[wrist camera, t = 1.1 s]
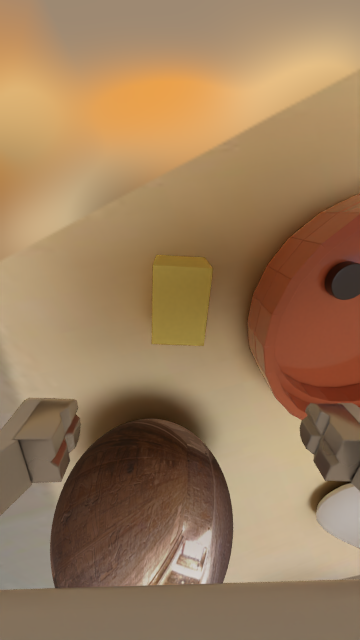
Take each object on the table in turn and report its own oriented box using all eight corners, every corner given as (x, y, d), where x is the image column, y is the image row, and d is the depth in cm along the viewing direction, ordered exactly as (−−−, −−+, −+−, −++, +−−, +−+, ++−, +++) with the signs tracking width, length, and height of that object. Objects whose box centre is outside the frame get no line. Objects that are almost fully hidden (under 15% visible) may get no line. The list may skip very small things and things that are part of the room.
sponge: (156, 254, 19) (152, 264, 15) (205, 257, 19) (213, 268, 16) (154, 321, 21) (151, 344, 18) (198, 323, 22) (203, 346, 18)
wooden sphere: (239, 410, 26) (311, 622, 13) (184, 486, 32) (193, 690, 18) (109, 368, 23) (24, 586, 10) (73, 460, 29) (-13, 681, 15)
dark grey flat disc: (330, 259, 19) (339, 262, 18) (366, 261, 19) (376, 264, 18) (319, 295, 20) (326, 299, 19) (352, 297, 20) (361, 301, 19)
